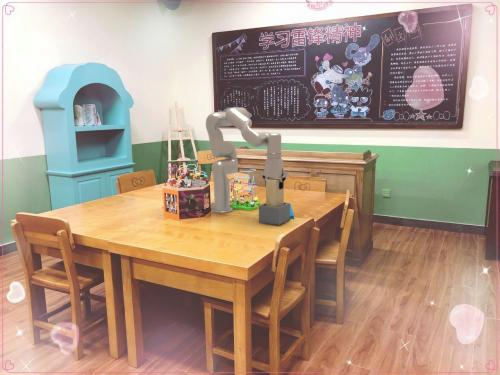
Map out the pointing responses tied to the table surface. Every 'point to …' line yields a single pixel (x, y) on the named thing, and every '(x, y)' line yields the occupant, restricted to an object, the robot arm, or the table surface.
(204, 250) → the table surface
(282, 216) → the box
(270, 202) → the beige tall block
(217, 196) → the robot arm
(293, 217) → the lever
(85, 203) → the table surface
